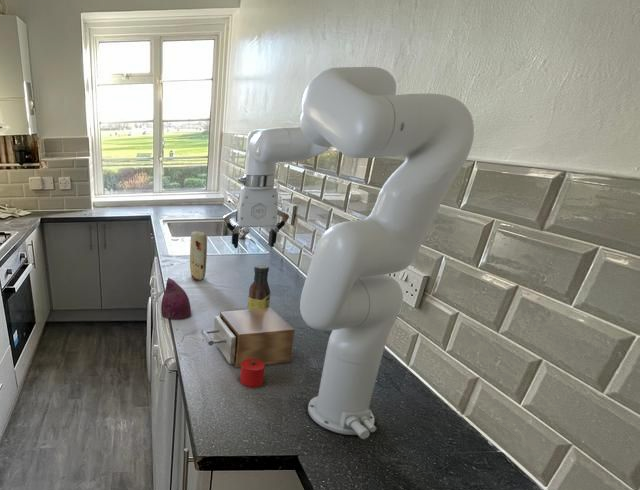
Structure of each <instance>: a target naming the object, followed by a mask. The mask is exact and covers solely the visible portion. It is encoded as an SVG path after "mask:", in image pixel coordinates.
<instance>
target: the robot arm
mask: <svg viewBox="0 0 640 490" xmlns="http://www.w3.org/2000/svg"><path fill="white" fill-rule="evenodd" d="M301 111H302V113H301V115H300V121H299V123H300V126H283V127H269V128H268V127H267V128H265V129H264V128H263V129H262V128H261V129H253V130H251V131H249V133H248V134H247V137H246V148H245V162H244V174H243V176H241V177H238V179H237V183H238V184H241V185H243V186H241V188H240V190H239V194H238V199H237V205H236V209H235V210H233V211H231V212H229V213H226V215H224V216H222V220H223V222H224V224H225V226H226V227H227V229H229V230H230V232H231V245H233V247H234V249H238V248H239V239H240V238H239V237H240V234H239V231H240V230H241V229H242V228H268V227H270V230H269V232H268V243H267V244H268V246H269V247H270V248H274V246H275V244H276V243H277V235H278V233H279V231H280V230H281V229H283V227H284V226H285V225H286V223H287V221H288V220H289V218H290V214H288V213H285V212H284V211H282V210H280V209H279V208H278V207H279V205H278V201H279V199H278V196H279V195H278V187H277V186H275V177H276V168H277V163H288V162H303V161H307V160H310V159H312V158H315V157H317V156H320V155H322V154H324V153H326V152H327V151H328V150H329V149H331V147H333V148H335V149H336V150H337V151H339V152H340V153H341V154H342V155H345V156H347V157H350V158H354V159H371V158H373V159H374V158H389V157H400V156H404V157H405V159H404V161H403V163H401V164H400V165H399V166H398V167H397V168H396V169H395V170H394V171H393V172H392V173H391V175H390V176H389V177H388V178H387V179H386V181H385V182H384V183H383V185H382V187H381V188H380V190H379V193H378V195H377V198H376V201H375V204H374V205H373V207H372V210H371V211H370V213H369V215H368V216H367V217H366V218H364V219H355V220H347V221H342V222H338V223H336V224H334V225H332V226H330V227H328V229H326V231H325V232H324V233H323V234H322V235H321V237H320V238H319V240H318V241H317V244H316V247H315V249H314V251H313V255H312V258H311V261H310V265H309V267H308V271H307V274H306V278H305V280H304V285H303V287H302V290H301V294H300V300H299V309H300V315H301V317H302V320H303V322H304V323H305V324H306V326H308V327H309V328H311V329H313V330H315V331H321V332H327V331H328V332H329V331H331V333H330V335H329V337H328V342H327V346H326V351H325V356H324V362H323V367H322V372H321V377H320V383H319V390H318V394H317V395H316V396H314V397H313V398H311V399H310V401H309V402H308V404H307V413H308V415H309V416H310V418H311V419H312V420H313V421H314V422H315V423H316V424H318V425H319V426H320V427H322V428H324V429H325V430H329V431H330V432H333V433H337V434H340V435H346V436H358V437H359V438H360V439H362V440H364V439H367V438H369V436H370V435H371V433H374V432H376V431H377V426H375V422H376V421H375V420H376V419H375V415H374V414H373V411H372V410H371V409H370V405H371V401H372V397H373V393H374V389H375V385H376V382H377V378H378V375H379V370H380V366H381V362H382V359H383V355H384V350H385V347H386V343H387V341H388V337H389V335H390V333H391V331H392V328H393V327H394V325H395V323H396V321H397V320H398V317H399V315H400V313H401V311H402V306H403V302H404V292H403V289H402V287H401V285H400V284H399V282H398V281H397V280H396V279H395V278H393V277H392V276H390V275H389V274H395V273H398V272H401V271H403V270H405V269H407V268H409V266H410V265H411V264H412V263H413V261H414V260H415V258H416V256H417V254H418V253H419V251H420V248H421V246H422V245H423V242H424V240H425V238H426V236H427V234H428V233H429V230H430V228H431V226H432V225H433V222H434V220H435V218H436V216H437V214H438V212H439V210H440V207H441V205H442V203H443V201H444V199H445V197H446V195H447V193H448V192H449V190H450V188H451V186H452V185H453V183H454V182H455V180H456V178H457V177H458V175H459V174H460V172H461V170H462V169H463V167H464V165H465V163H466V161H467V159H468V157H469V155H470V152H471V149H472V146H473V142H474V136H475V126H474V120H473V116H472V114H471V112H470V110H469V109H468V107H467V106H466V105H465V104H464V103H463V102H462V101H461V100H459V99H457V98H456V97H452V96H450V95H446V94H440V93H405V94H397V82H396V79H395V78H394V76H393V74H391V72H390V71H388V70H386V69H384V68H381V67H376V66H345V67H344V66H340V67H330V68H326V69H325V70H322V71H321V72H319V73H317V74H316V75H315V76H313V78H312V79H311V80H310V81H309V82H308V84H307V86H306V88H305V90H304V93H303V96H302V99H301ZM278 216H279V217H281V219H280V220H279V221H278V222H277V220H278ZM233 218H235V222H236V223H234V225H233V224H231V221H230V220H231V219H233Z"/></svg>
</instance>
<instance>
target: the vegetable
mask: <svg viewBox="0 0 640 490" xmlns="http://www.w3.org/2000/svg"><path fill="white" fill-rule="evenodd" d="M165 285H166V286H165V289H164V292H163V294H162V298H161V304H160V311H161V316H162V317H163V318H165V319H168V320H184V319H187V318H188V317H191V314H192V313H191V312H192V307H191V302H190V298H189V296H188V294H187V292H186V291H185V290H184V288H183V287H182V286H180V285H179V284H178V283H177V282H176V281H175V280H174V279H172V278H170V277H168V278H167V281H166V284H165Z"/></svg>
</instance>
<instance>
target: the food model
mask: <svg viewBox="0 0 640 490" xmlns="http://www.w3.org/2000/svg"><path fill="white" fill-rule="evenodd" d="M189 245H190V246H189V270H190V276H191V279H193V280H194V281H202V280H203V279H204V278H205V277H206V273H207V258H208V237H207V234H206V233H205V232H203V231H199V230H195V231H192V232H191V234H190V244H189Z"/></svg>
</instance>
